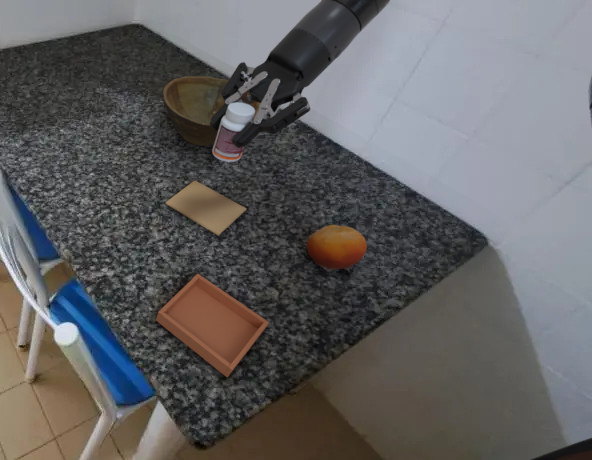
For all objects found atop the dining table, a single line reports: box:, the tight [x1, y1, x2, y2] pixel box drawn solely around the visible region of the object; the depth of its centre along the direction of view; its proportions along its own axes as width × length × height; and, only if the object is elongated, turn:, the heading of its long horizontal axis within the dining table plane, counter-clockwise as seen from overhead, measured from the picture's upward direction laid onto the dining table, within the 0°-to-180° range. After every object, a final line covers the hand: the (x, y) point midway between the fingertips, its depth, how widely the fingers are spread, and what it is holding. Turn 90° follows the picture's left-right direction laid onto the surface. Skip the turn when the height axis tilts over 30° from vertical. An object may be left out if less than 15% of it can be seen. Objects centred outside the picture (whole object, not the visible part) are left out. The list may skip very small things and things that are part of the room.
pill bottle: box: [211, 102, 255, 163], centre depth 62 cm, size 5×5×8 cm
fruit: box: [306, 224, 368, 274], centre depth 65 cm, size 8×8×8 cm
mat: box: [165, 180, 247, 237], centre depth 76 cm, size 12×10×1 cm
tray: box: [155, 273, 270, 378], centre depth 57 cm, size 12×10×2 cm
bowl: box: [162, 75, 261, 147], centre depth 90 cm, size 22×23×10 cm
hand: (224, 135), depth 62 cm, fingers closed on pill bottle, 4 cm apart
